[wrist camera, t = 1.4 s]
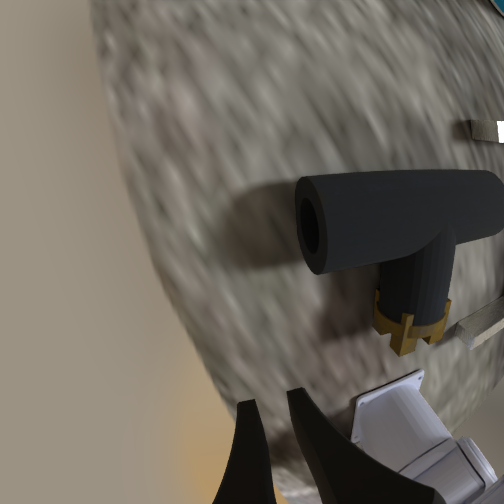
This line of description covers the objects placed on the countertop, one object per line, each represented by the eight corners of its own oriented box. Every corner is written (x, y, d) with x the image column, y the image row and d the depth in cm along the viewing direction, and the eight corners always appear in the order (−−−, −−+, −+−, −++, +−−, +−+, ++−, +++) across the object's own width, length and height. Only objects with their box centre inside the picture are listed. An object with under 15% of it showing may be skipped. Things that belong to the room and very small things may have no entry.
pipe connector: (489, 321, 16) (326, 388, 15) (451, 294, 21) (301, 338, 20) (512, 175, 12) (325, 181, 11) (463, 166, 17) (290, 173, 16)
